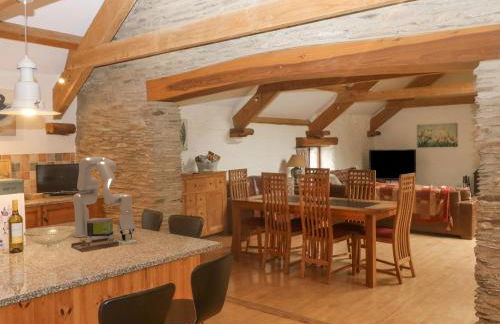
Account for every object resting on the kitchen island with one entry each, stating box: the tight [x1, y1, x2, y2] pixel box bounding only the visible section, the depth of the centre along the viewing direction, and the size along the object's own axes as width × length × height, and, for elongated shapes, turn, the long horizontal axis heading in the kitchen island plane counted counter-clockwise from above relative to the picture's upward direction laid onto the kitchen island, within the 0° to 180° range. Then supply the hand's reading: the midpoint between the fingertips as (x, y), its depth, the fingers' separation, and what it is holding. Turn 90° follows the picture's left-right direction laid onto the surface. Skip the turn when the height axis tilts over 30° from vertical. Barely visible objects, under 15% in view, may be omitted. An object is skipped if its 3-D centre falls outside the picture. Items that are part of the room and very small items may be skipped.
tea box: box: [86, 217, 114, 241], centre depth 317 cm, size 15×10×15 cm
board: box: [70, 237, 120, 253], centre depth 297 cm, size 18×24×5 cm
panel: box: [112, 232, 138, 246], centre depth 309 cm, size 14×10×5 cm
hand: (127, 239), depth 310 cm, fingers closed on panel, 4 cm apart
